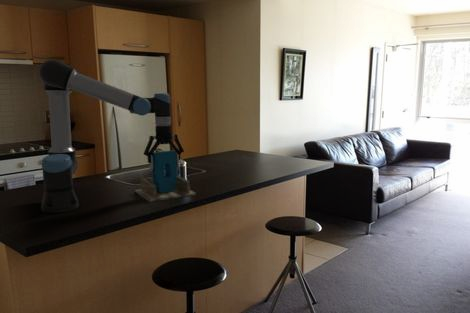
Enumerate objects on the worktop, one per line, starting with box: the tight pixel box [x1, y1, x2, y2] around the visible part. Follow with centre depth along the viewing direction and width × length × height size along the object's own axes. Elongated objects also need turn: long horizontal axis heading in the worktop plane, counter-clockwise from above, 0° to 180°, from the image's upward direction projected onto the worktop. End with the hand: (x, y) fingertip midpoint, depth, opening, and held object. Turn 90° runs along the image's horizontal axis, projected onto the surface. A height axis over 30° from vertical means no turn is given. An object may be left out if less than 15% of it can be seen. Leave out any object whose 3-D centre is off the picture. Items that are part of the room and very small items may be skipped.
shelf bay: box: [135, 175, 197, 203], centre depth 201 cm, size 24×22×7 cm
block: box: [151, 150, 178, 193], centre depth 200 cm, size 12×5×20 cm, turn 132°
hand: (164, 168), depth 199 cm, fingers open, 13 cm apart
